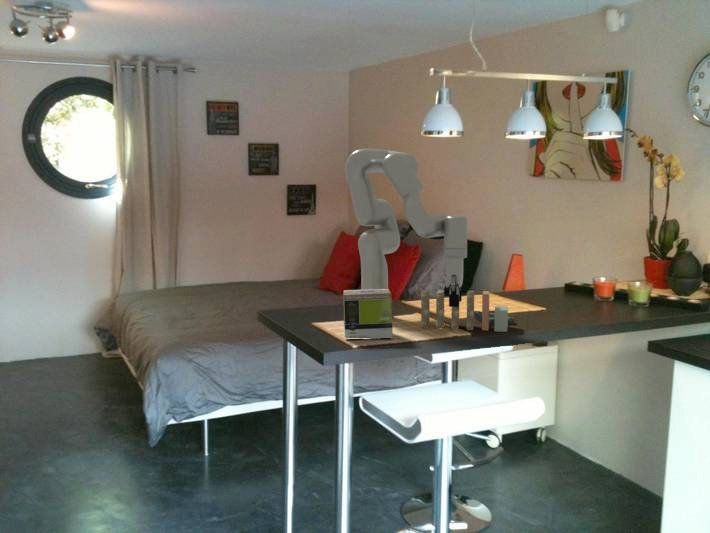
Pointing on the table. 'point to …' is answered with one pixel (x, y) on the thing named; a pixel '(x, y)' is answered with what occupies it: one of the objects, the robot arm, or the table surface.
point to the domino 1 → (425, 309)
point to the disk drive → (491, 317)
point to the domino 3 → (455, 316)
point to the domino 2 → (440, 309)
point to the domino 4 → (470, 310)
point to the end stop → (501, 318)
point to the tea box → (368, 313)
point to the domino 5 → (485, 310)
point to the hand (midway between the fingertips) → (455, 304)
